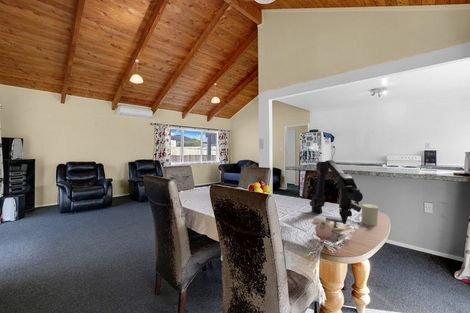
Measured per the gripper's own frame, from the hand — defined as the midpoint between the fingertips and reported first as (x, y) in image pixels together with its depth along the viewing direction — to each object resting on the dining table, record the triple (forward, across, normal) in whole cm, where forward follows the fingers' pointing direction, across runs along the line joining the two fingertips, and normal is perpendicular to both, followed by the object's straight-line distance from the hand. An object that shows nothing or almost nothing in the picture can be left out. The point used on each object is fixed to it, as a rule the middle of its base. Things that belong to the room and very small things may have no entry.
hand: (344, 223), depth 131 cm
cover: (+3, +5, +13) cm, 14 cm away
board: (+5, +2, +7) cm, 9 cm away
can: (+5, +22, -16) cm, 28 cm away
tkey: (+3, 0, +5) cm, 6 cm away
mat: (+5, -4, +23) cm, 24 cm away
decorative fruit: (+5, -18, +11) cm, 22 cm away
